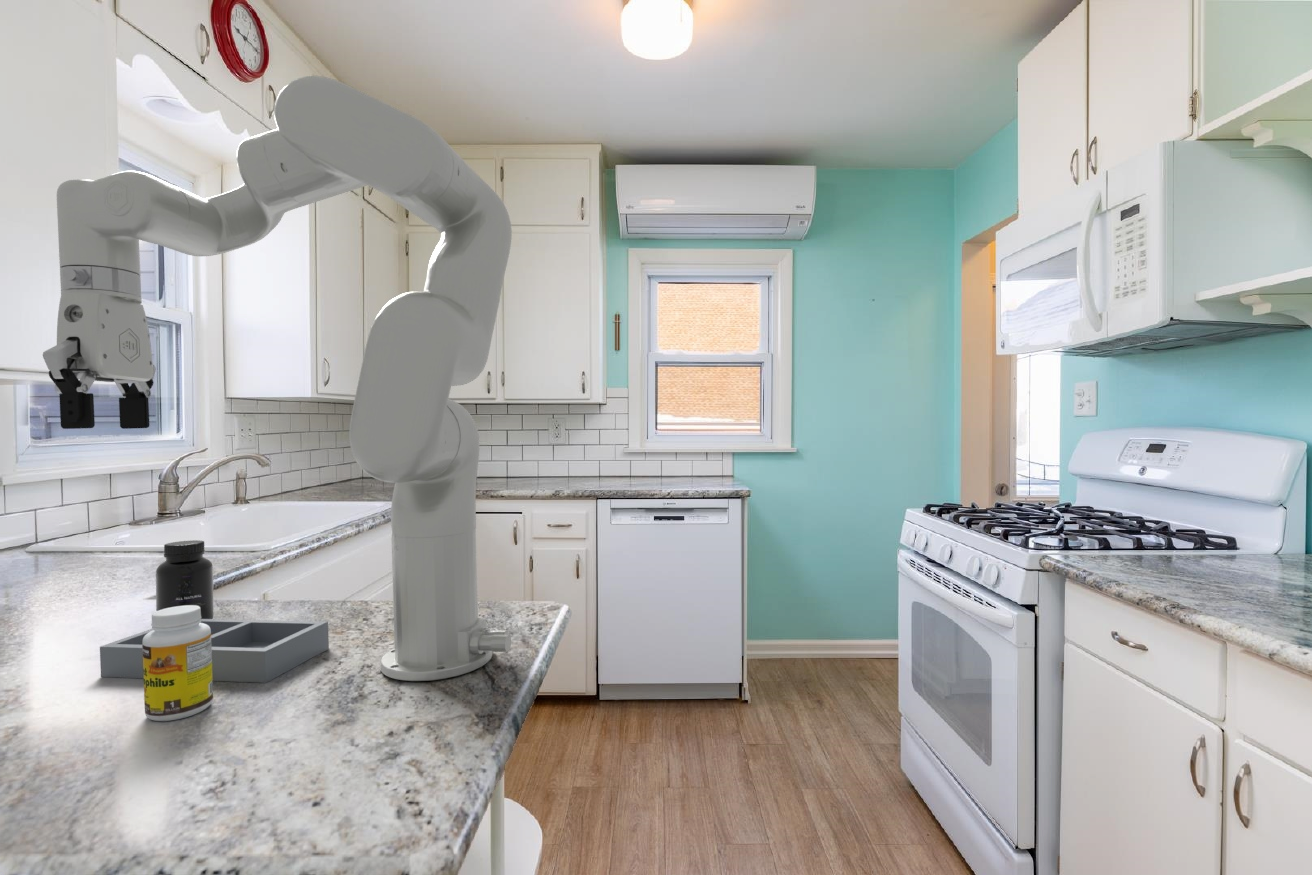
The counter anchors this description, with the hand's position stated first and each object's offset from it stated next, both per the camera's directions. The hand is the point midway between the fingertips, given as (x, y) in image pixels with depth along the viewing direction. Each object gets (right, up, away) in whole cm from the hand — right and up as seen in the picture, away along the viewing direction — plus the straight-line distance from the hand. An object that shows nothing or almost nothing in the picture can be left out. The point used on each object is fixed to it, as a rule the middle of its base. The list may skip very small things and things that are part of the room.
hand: (108, 428), depth 80 cm
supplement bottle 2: (+19, -29, -14) cm, 38 cm away
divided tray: (+14, -28, -1) cm, 32 cm away
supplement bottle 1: (-2, -29, +16) cm, 33 cm away
